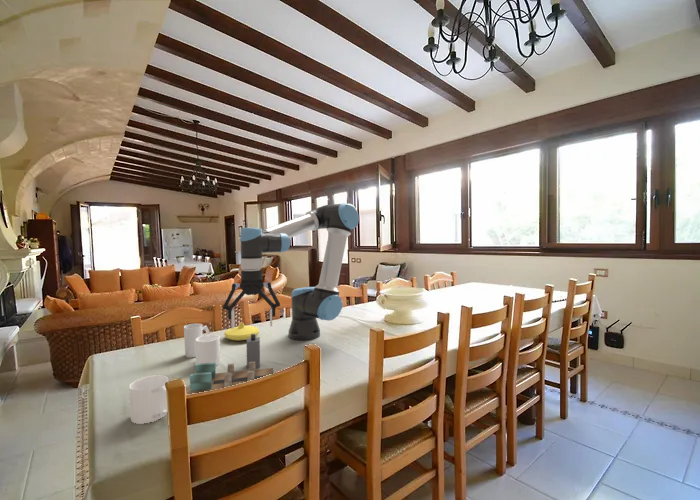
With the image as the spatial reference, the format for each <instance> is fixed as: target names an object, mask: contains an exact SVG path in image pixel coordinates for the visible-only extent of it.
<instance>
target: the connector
mask: <svg viewBox="0 0 700 500" xmlns="http://www.w3.org/2000/svg"><path fill="white" fill-rule="evenodd" d="M260 338H261V337H259V336H255V334H251V338H247V340H246V369H247V370H249V362H255V369H261V339H260Z"/></svg>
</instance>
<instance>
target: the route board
mask: <svg viewBox="0 0 700 500" xmlns="http://www.w3.org/2000/svg"><path fill="white" fill-rule="evenodd" d="M216 367H217V366H216V365H215V362H213V363H202V364H195V373H190V375H189V387H188V389H187V390H186V393H187V394H192V393H199V392H204V391H210V390H215V389H220V388H224V387H228V386H232V385H236V384H239V383H243V382H247V381H250V380H254V379H257V378H260V377H263V376H266V375H269V374H272V373H273V374H274V367H270V368H269V367H268V368H255V362H249V369H247V370H246V369H245V370H238V371H235V363H227V371H226V372H218V373H217V371H216V369H217V368H216ZM186 393H185V394H186Z"/></svg>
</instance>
